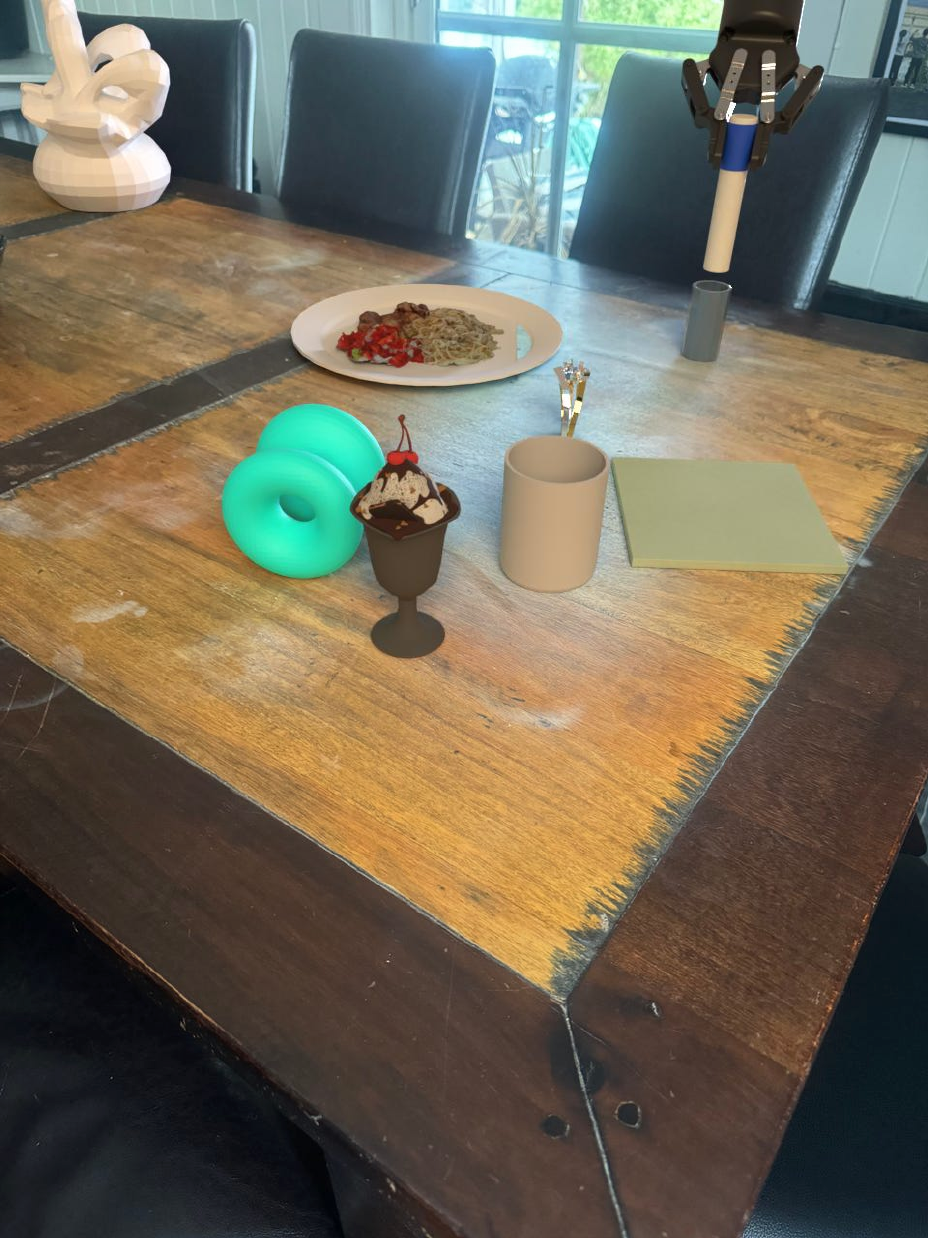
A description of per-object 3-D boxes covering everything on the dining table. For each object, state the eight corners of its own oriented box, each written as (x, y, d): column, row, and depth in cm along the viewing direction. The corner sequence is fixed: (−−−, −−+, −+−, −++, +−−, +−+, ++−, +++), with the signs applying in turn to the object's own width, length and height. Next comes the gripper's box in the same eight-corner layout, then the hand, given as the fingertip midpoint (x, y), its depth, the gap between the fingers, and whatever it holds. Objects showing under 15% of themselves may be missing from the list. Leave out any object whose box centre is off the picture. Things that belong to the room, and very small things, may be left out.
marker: (726, 264, 95) (755, 113, 87) (732, 273, 93) (762, 118, 84) (699, 264, 95) (725, 112, 87) (704, 272, 93) (731, 118, 85)
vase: (193, 216, 142) (151, -65, 120) (39, 226, 135) (-34, -69, 114) (174, 175, 163) (136, -70, 141) (41, 182, 157) (-21, -74, 135)
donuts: (226, 578, 66) (204, 453, 60) (270, 508, 73) (256, 391, 67) (361, 593, 65) (353, 468, 58) (391, 520, 72) (388, 403, 66)
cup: (488, 585, 66) (493, 476, 60) (517, 516, 73) (524, 413, 68) (587, 602, 64) (602, 492, 59) (606, 530, 72) (621, 426, 66)
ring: (580, 466, 80) (589, 380, 75) (543, 463, 80) (551, 377, 75) (583, 431, 86) (592, 349, 81) (548, 428, 86) (556, 346, 81)
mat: (792, 471, 80) (794, 462, 80) (846, 575, 68) (849, 566, 67) (611, 464, 81) (612, 456, 80) (631, 567, 68) (632, 558, 67)
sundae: (416, 593, 65) (413, 394, 56) (477, 640, 61) (485, 434, 51) (338, 629, 61) (321, 423, 52) (397, 681, 57) (390, 468, 48)
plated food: (596, 324, 108) (600, 295, 106) (497, 423, 86) (499, 390, 84) (375, 284, 118) (374, 257, 116) (236, 365, 96) (232, 334, 94)
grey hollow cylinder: (713, 353, 102) (727, 280, 97) (719, 367, 99) (734, 292, 94) (678, 352, 102) (690, 279, 97) (683, 366, 99) (696, 291, 94)
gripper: (693, -34, 86) (662, 134, 84) (848, -29, 83) (820, 145, 81) (687, 28, 93) (659, 184, 91) (830, 35, 91) (803, 195, 89)
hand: (735, 165), depth 86 cm, fingers closed on marker, 2 cm apart
